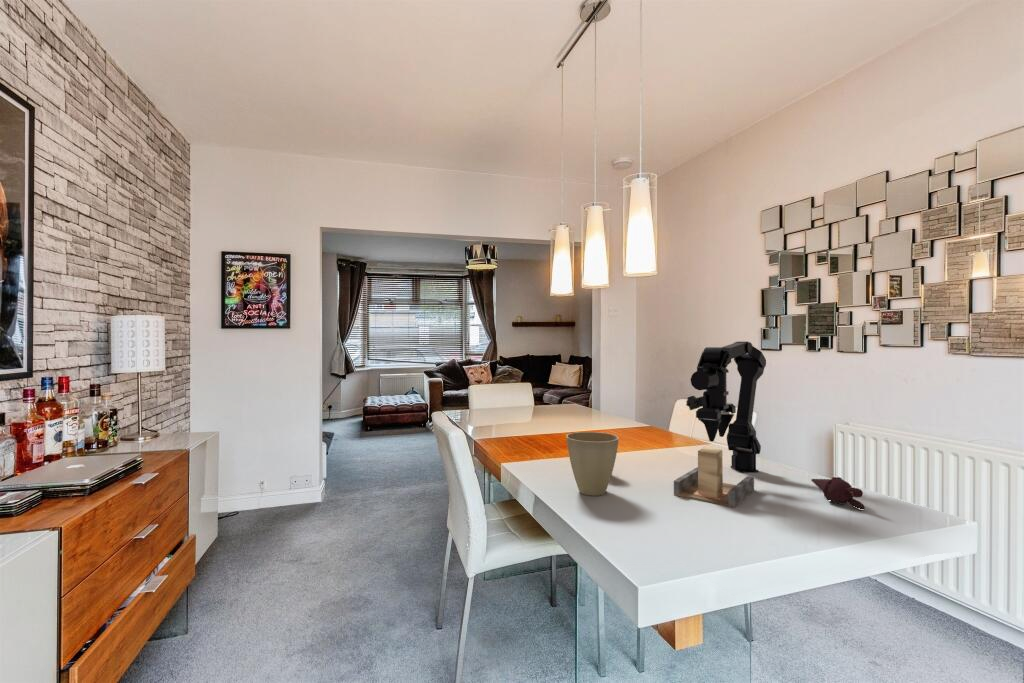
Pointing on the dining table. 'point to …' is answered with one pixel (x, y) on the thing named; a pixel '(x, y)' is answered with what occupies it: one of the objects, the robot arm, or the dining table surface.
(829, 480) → the icecream
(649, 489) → the dining table surface
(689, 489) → the bay
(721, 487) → the oak block
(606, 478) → the plant pot
